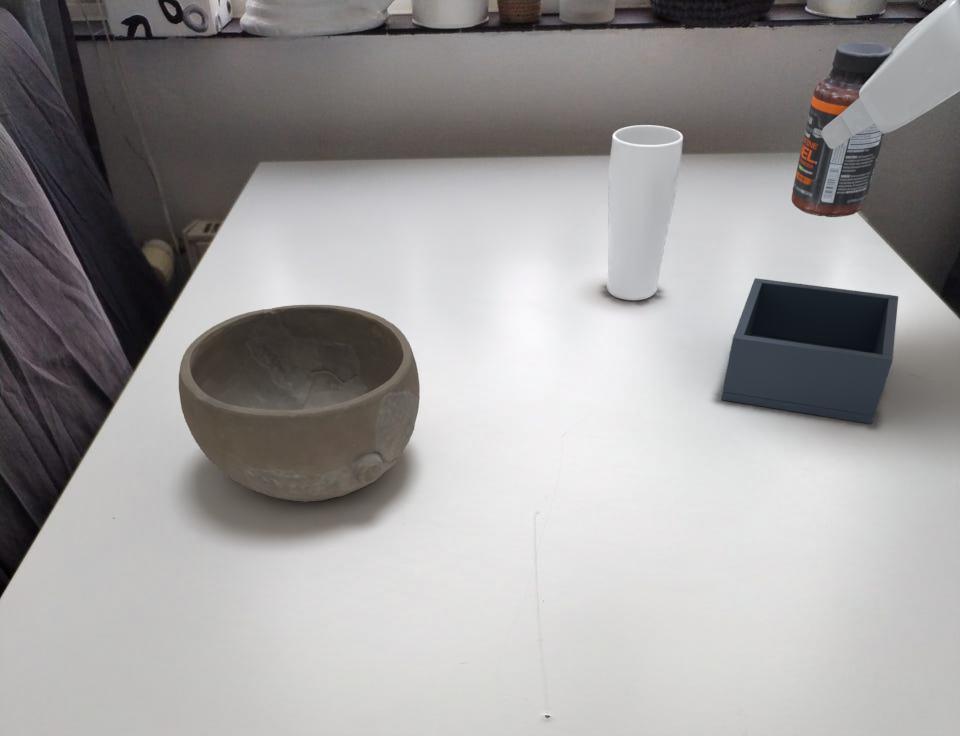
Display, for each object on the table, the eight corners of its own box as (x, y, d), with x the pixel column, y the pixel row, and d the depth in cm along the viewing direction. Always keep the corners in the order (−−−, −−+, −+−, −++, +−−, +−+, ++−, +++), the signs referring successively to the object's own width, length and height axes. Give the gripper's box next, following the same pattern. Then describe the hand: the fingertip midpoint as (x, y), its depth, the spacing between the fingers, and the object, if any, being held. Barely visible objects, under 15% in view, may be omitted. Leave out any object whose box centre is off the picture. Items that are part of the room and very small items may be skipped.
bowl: (437, 517, 67) (429, 397, 60) (196, 545, 65) (159, 424, 58) (412, 401, 79) (403, 290, 72) (208, 422, 77) (178, 310, 70)
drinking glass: (646, 274, 97) (664, 121, 87) (675, 299, 93) (697, 140, 82) (589, 284, 96) (600, 129, 85) (615, 309, 91) (630, 149, 81)
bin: (742, 337, 87) (754, 277, 82) (879, 356, 83) (898, 295, 79) (721, 400, 78) (732, 337, 74) (871, 424, 75) (892, 360, 71)
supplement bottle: (779, 196, 76) (811, 40, 68) (846, 192, 77) (886, 36, 69) (804, 221, 72) (841, 57, 64) (875, 217, 72) (921, 54, 64)
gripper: (1015, -81, 66) (844, 61, 76) (983, -39, 53) (782, 125, 63) (1056, -3, 67) (883, 126, 77) (1034, 55, 55) (830, 201, 65)
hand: (837, 126), depth 70 cm, fingers closed on supplement bottle, 6 cm apart
